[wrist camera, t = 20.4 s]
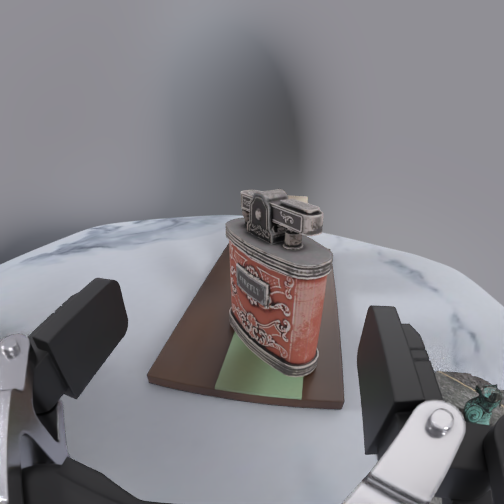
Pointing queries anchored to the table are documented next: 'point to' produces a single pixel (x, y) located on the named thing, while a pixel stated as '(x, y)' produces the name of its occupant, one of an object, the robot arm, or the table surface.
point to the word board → (245, 353)
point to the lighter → (278, 279)
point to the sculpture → (471, 399)
